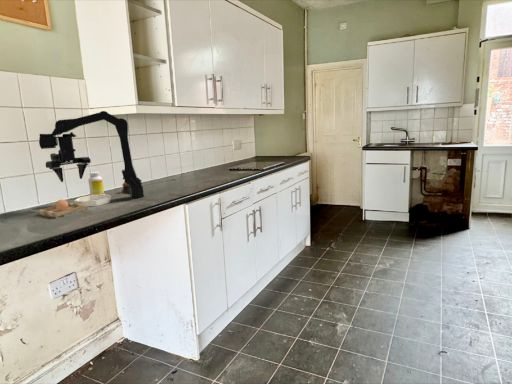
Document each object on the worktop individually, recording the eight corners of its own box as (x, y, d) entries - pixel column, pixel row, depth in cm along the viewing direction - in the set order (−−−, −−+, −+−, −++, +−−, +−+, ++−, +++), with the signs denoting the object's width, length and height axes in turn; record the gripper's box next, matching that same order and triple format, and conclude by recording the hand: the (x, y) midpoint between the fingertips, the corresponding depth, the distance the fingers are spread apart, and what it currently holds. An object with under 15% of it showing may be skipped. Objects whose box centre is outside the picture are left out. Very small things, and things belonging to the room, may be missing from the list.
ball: (71, 210, 156) (70, 199, 155) (60, 212, 151) (58, 201, 151) (65, 208, 158) (63, 198, 157) (54, 211, 154) (52, 200, 153)
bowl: (116, 201, 171) (116, 195, 171) (88, 209, 159) (87, 202, 158) (98, 199, 179) (97, 193, 179) (69, 206, 167) (68, 199, 166)
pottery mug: (117, 194, 191) (119, 180, 194) (132, 199, 198) (134, 185, 201) (129, 191, 184) (131, 176, 187) (144, 195, 191) (146, 181, 193)
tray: (87, 210, 157) (86, 205, 156) (55, 218, 145) (54, 213, 145) (69, 207, 164) (69, 202, 164) (38, 214, 153) (37, 209, 153)
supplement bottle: (107, 195, 188) (103, 171, 185) (96, 198, 182) (92, 173, 180) (99, 194, 191) (95, 171, 189) (88, 197, 186) (84, 173, 183)
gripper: (76, 145, 175) (80, 176, 178) (36, 149, 160) (42, 182, 163) (89, 145, 169) (93, 177, 172) (49, 149, 154) (55, 184, 157)
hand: (71, 180), depth 166 cm, fingers open, 9 cm apart
